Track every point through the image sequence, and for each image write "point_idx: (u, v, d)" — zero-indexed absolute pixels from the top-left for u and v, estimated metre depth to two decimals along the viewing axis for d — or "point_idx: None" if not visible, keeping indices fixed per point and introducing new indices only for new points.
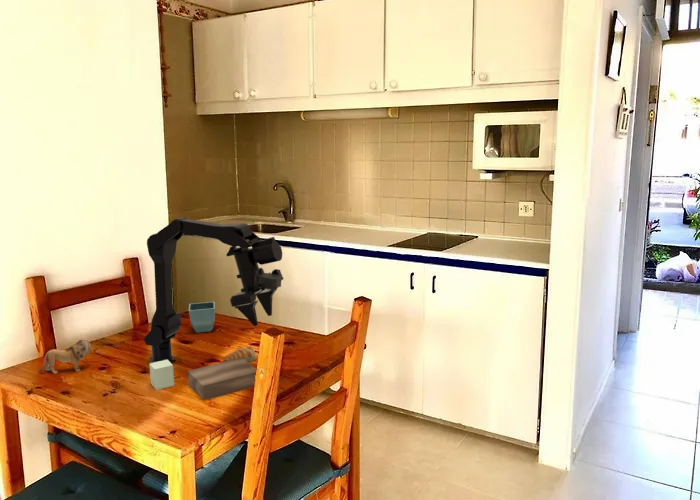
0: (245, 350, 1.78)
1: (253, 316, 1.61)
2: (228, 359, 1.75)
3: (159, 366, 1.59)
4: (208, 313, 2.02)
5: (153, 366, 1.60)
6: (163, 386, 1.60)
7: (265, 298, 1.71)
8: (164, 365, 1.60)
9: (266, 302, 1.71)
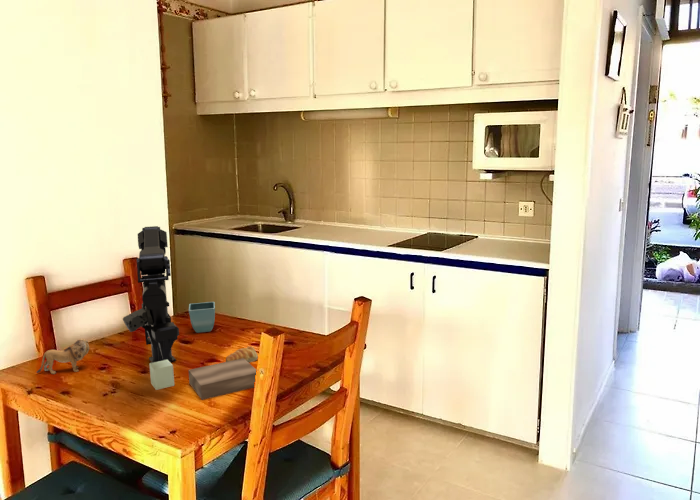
0: (246, 350, 1.78)
1: None
2: (229, 359, 1.74)
3: (159, 366, 1.60)
4: (208, 313, 2.02)
5: (153, 366, 1.60)
6: (163, 386, 1.60)
7: None
8: (164, 365, 1.60)
9: None
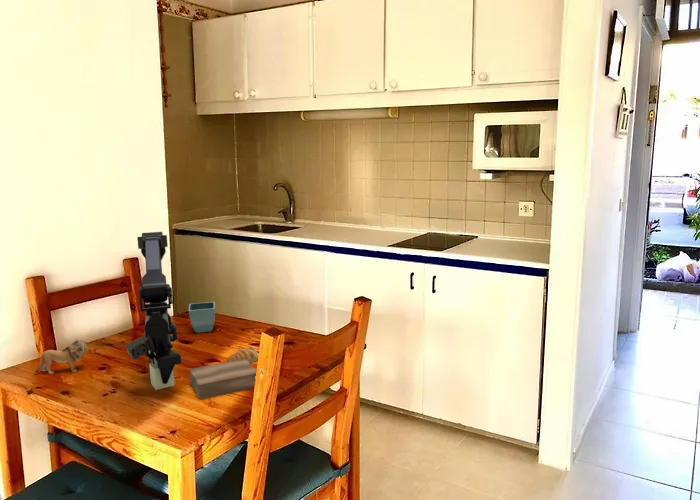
0: (247, 351, 1.77)
1: None
2: (231, 360, 1.74)
3: None
4: (208, 313, 2.02)
5: (153, 366, 1.60)
6: (163, 386, 1.60)
7: None
8: None
9: None
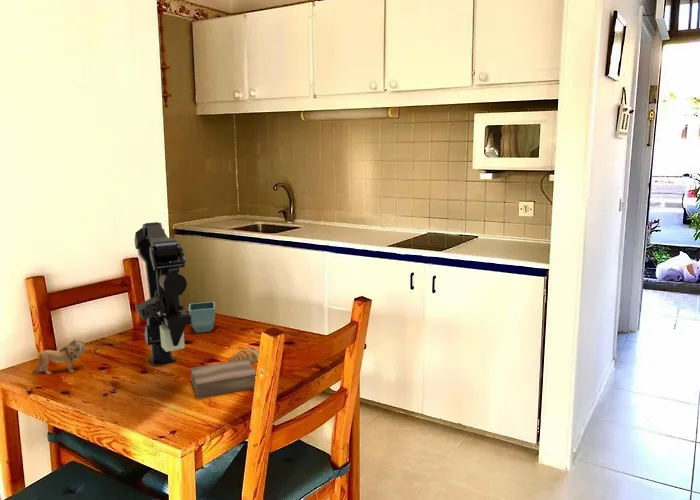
0: (249, 351, 1.77)
1: None
2: (233, 360, 1.74)
3: None
4: (208, 313, 2.02)
5: (163, 328, 1.57)
6: (173, 348, 1.57)
7: None
8: None
9: None
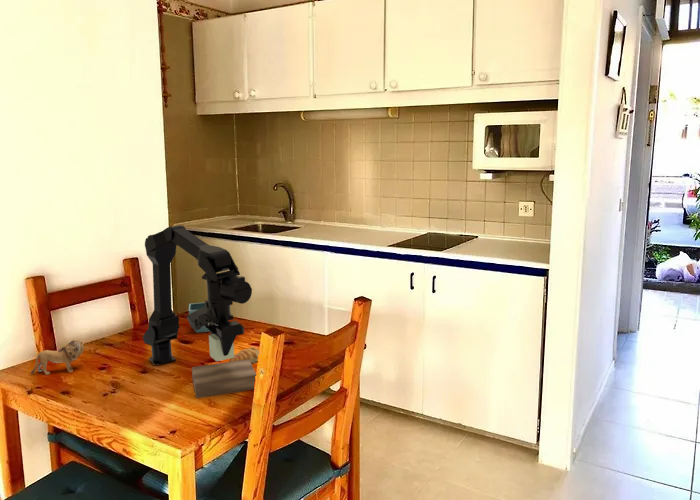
0: (250, 351, 1.77)
1: None
2: None
3: None
4: None
5: (213, 337, 1.57)
6: (223, 357, 1.57)
7: None
8: None
9: None
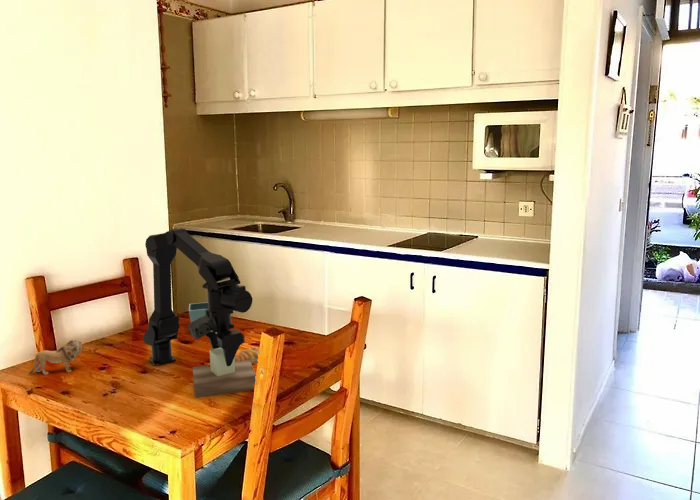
0: (251, 351, 1.77)
1: None
2: (235, 361, 1.73)
3: (220, 352, 1.58)
4: None
5: (214, 352, 1.58)
6: (224, 372, 1.58)
7: None
8: None
9: None
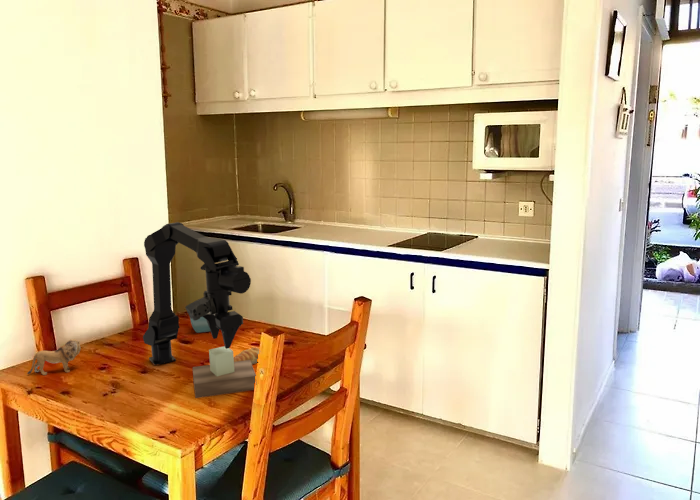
0: (252, 351, 1.77)
1: None
2: (236, 361, 1.73)
3: (219, 352, 1.58)
4: None
5: (213, 352, 1.58)
6: (224, 372, 1.58)
7: None
8: (224, 351, 1.59)
9: None
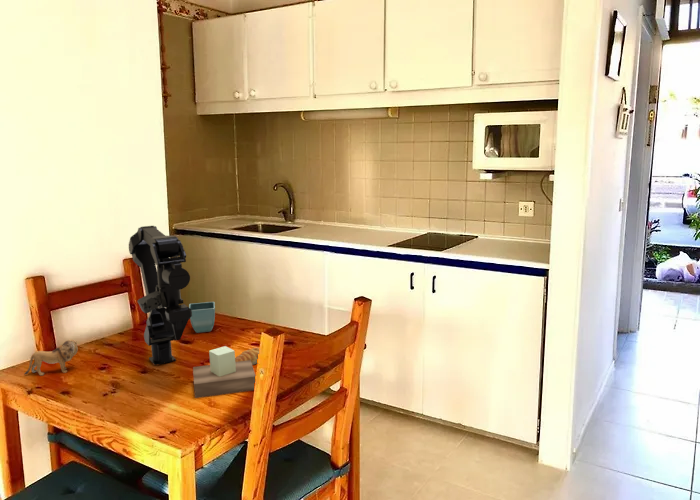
0: (253, 352, 1.76)
1: None
2: None
3: (221, 352, 1.58)
4: (208, 313, 2.02)
5: (215, 353, 1.58)
6: (226, 372, 1.58)
7: None
8: (225, 351, 1.59)
9: None
